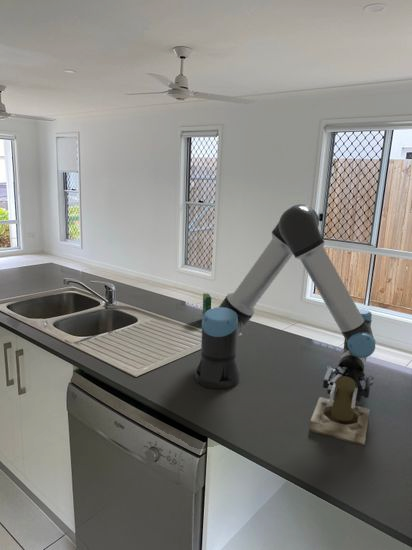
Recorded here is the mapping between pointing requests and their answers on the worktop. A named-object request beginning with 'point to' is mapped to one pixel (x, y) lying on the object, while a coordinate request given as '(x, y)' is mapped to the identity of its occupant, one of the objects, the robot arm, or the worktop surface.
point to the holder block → (340, 423)
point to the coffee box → (206, 302)
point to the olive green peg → (343, 399)
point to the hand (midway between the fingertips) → (342, 400)
